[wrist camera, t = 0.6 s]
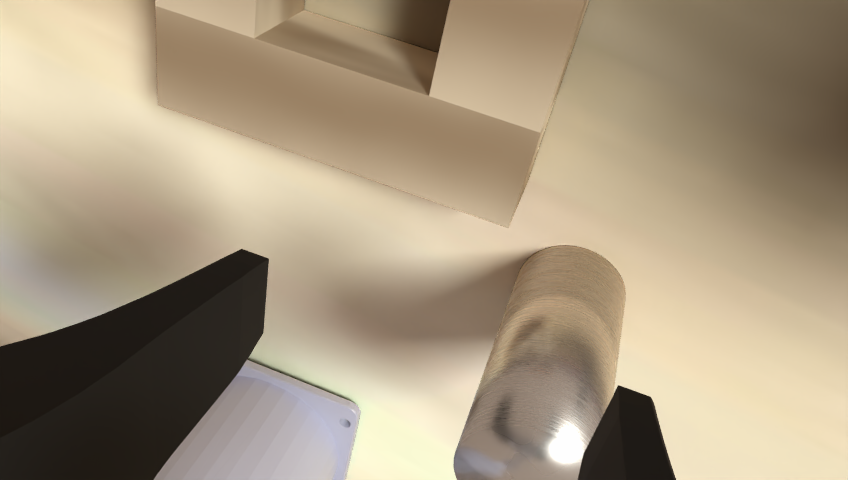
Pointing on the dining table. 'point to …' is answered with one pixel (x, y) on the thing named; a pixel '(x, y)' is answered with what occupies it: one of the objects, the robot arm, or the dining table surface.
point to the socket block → (379, 90)
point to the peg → (546, 370)
